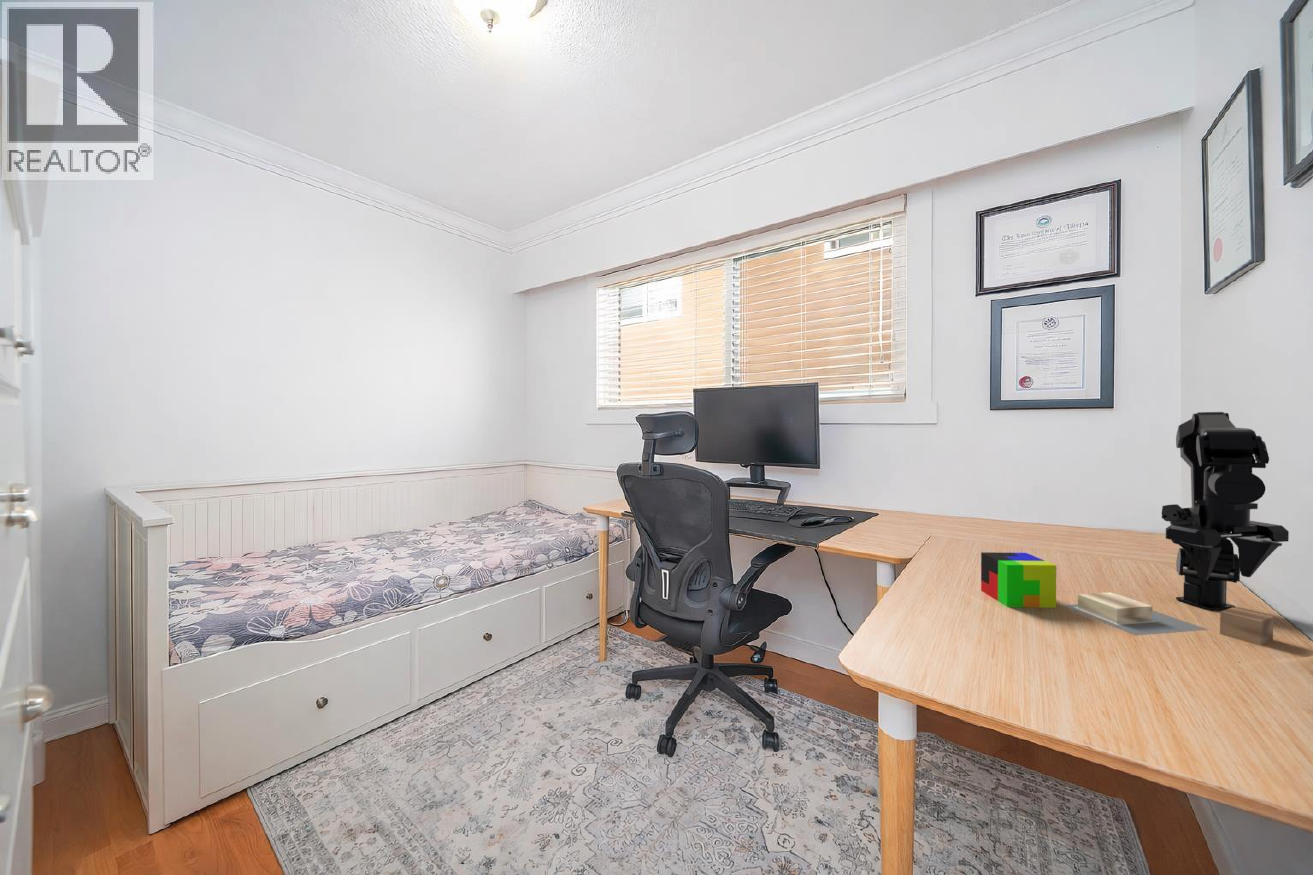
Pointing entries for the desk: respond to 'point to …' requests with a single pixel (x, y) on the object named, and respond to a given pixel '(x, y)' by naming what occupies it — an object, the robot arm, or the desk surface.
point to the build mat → (1146, 623)
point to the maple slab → (1115, 607)
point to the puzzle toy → (1018, 579)
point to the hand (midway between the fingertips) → (1224, 577)
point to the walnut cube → (1246, 625)
